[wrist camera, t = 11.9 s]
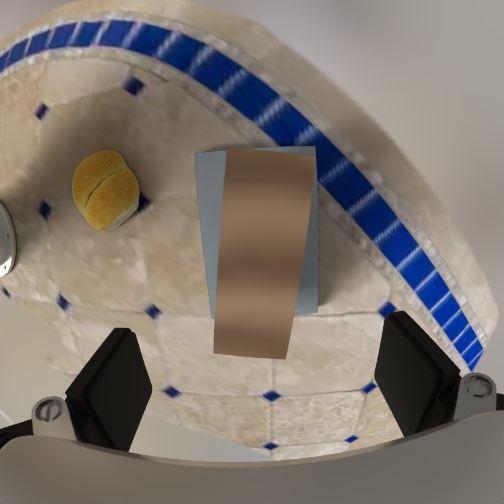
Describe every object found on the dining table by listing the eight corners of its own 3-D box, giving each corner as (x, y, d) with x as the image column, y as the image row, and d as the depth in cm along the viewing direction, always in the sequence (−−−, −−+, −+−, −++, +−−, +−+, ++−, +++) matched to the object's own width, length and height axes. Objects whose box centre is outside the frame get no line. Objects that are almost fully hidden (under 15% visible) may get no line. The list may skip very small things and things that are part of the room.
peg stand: (213, 312, 33) (204, 342, 27) (197, 154, 28) (181, 149, 22) (315, 306, 33) (327, 335, 26) (312, 147, 28) (327, 140, 22)
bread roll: (111, 137, 28) (94, 134, 24) (153, 196, 30) (140, 199, 26) (69, 184, 29) (50, 187, 25) (107, 240, 31) (90, 248, 27)
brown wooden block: (232, 151, 22) (227, 147, 18) (305, 159, 22) (316, 156, 18) (218, 329, 26) (213, 353, 22) (281, 334, 26) (285, 359, 22)
